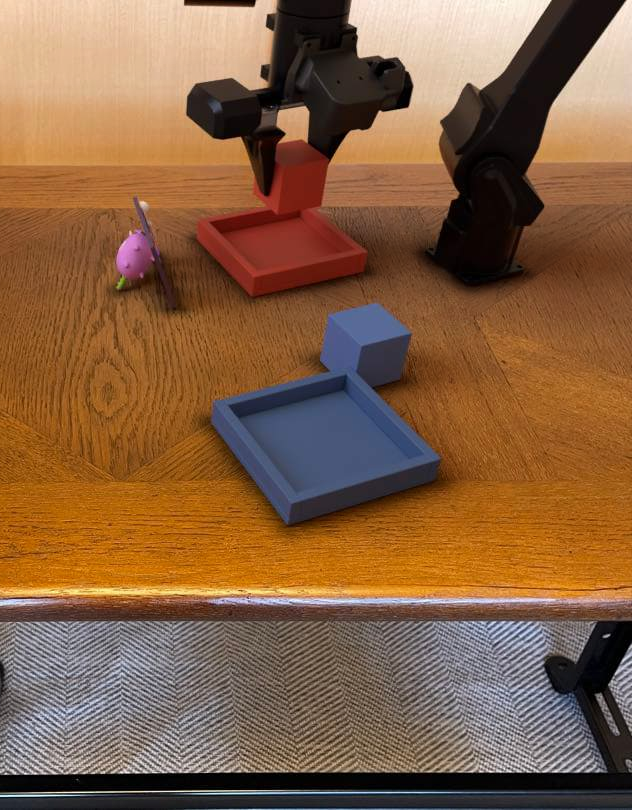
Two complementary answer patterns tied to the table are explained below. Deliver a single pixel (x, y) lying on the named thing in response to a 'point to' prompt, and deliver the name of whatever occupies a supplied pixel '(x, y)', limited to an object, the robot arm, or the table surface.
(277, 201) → the red block
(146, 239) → the pink spiky toy
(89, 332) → the table surface
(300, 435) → the blue tray
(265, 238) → the red tray
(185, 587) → the table surface
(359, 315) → the blue block
